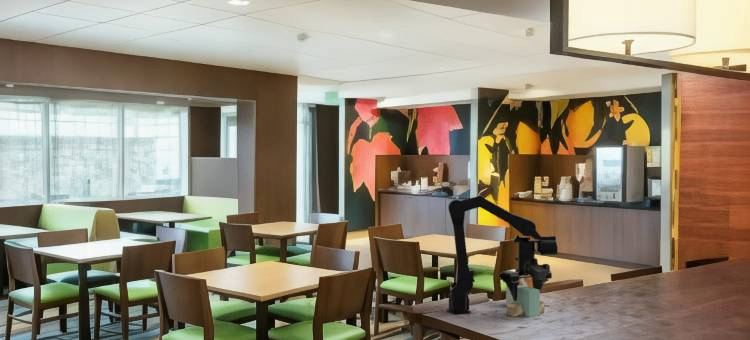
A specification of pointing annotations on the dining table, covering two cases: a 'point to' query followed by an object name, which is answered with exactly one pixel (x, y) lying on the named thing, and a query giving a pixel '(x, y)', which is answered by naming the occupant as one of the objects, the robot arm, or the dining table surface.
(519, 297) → the teal block
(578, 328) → the dining table surface
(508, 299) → the small box
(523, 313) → the maple rail
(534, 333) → the dining table surface
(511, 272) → the robot arm
